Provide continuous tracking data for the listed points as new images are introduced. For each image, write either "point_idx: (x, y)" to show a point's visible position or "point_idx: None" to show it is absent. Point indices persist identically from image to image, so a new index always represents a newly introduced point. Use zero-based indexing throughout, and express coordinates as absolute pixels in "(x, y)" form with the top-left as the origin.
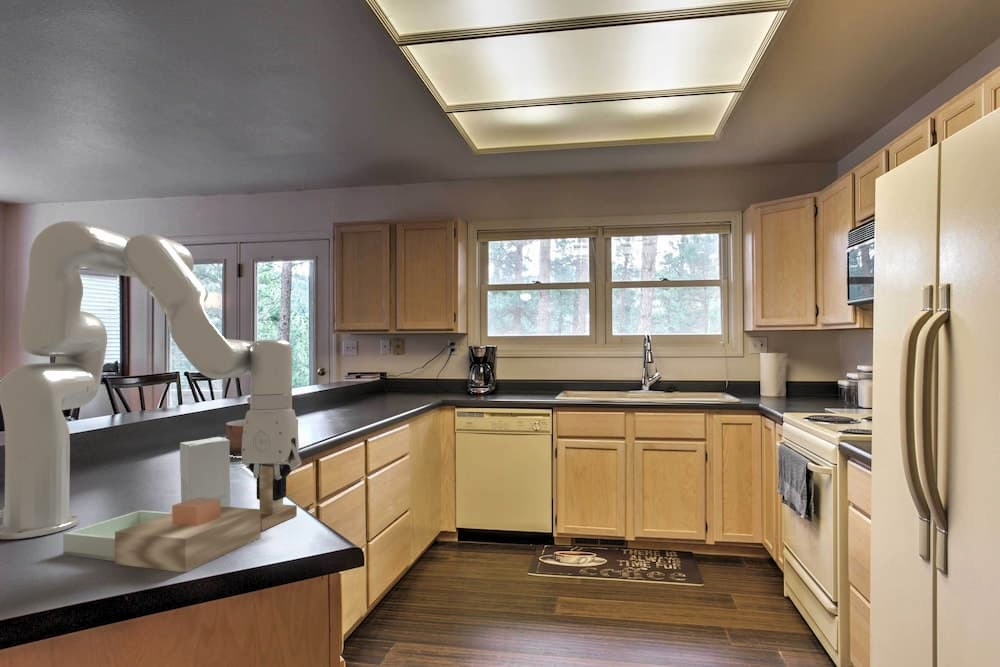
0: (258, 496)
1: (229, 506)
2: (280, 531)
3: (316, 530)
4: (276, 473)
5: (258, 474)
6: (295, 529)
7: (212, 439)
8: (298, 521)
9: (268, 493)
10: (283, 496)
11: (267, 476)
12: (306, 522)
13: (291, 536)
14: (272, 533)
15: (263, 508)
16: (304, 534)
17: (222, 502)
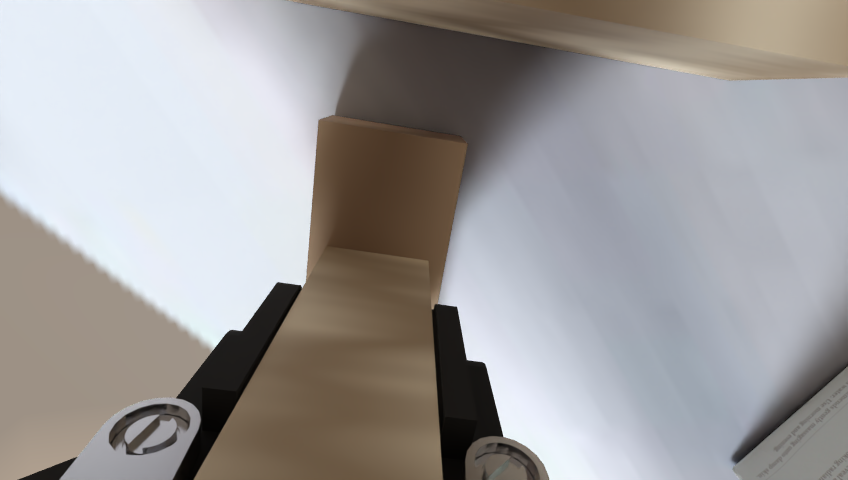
0: (439, 311)
1: (738, 468)
2: (227, 131)
3: (26, 165)
4: (141, 463)
5: (468, 475)
6: (163, 173)
7: None
8: (242, 305)
9: (335, 316)
10: None
11: (312, 434)
12: (186, 292)
13: (94, 43)
14: (251, 91)
15: (395, 269)
16: (42, 87)
17: (788, 471)
